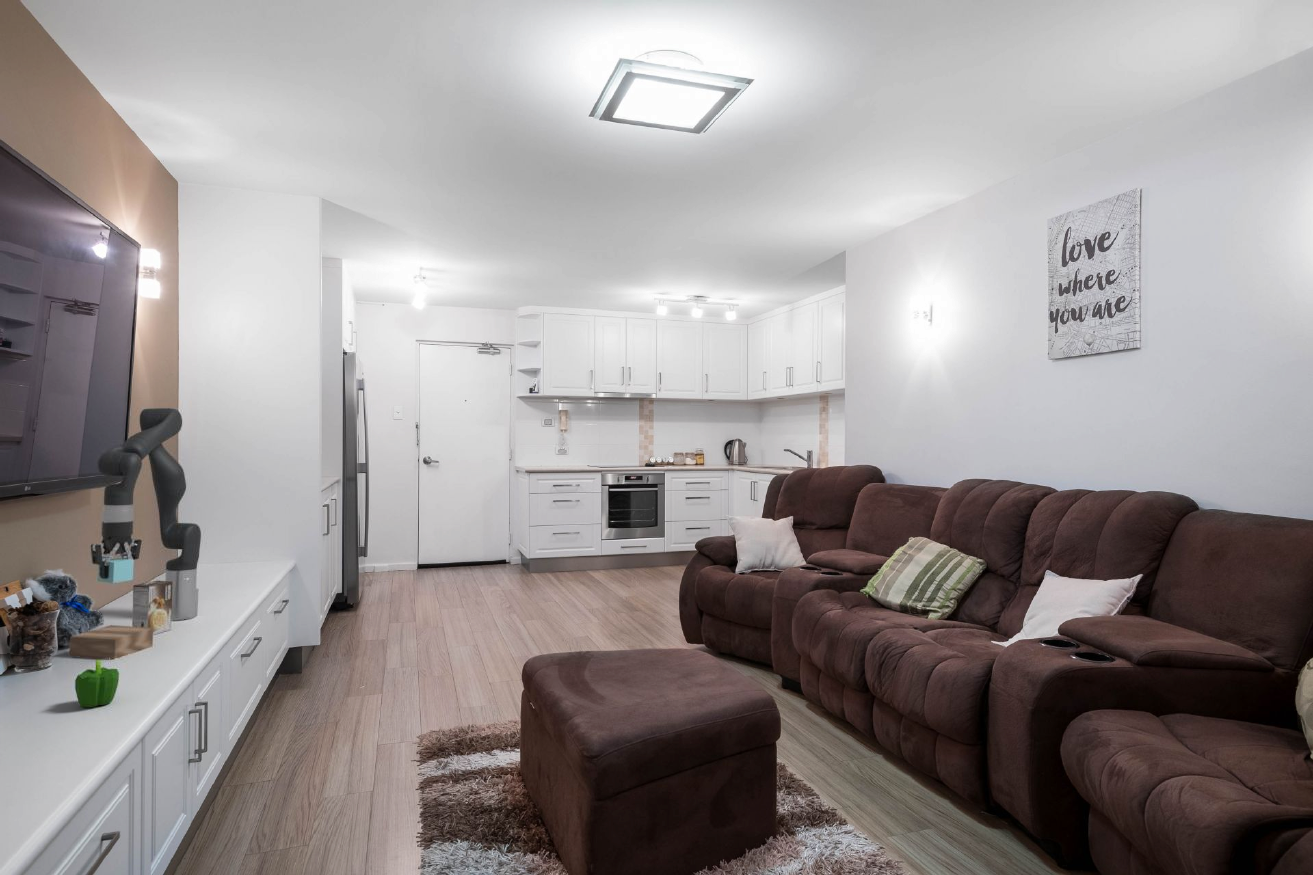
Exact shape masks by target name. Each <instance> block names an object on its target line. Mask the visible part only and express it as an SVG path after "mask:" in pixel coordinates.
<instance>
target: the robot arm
mask: <svg viewBox="0 0 1313 875" xmlns="http://www.w3.org/2000/svg"><path fill="white" fill-rule="evenodd" d="M181 414H182V413H181V412H180V411H179V410H178V409H176V408H170V407H169V408H167V407H164V408H162V407H161V408H160V407H159V408H156V407H155V408H144V409H143V410H141V412H140V414H139V427H140V431H139V432H136V433H135V434H133V435H131V436H130V437H128V438H127V439H126V440H125V441H124V442H123V443H122V444H120V445H117V446H115V447H112V448H111V449H110V448H109V449H108V450H106V451H105V452H104V453H103V452H102V454H101V455H100V457H99V458H98V460H97V465H96V466H97V470H98V472H99V473H101V474H102V475H104V476H106V477H123V479H122V480H121V481H120V482H119V483H114V484H109V485H106V486H105V488H104V491H103V492H104V493H103V508H102V516H101V537H102V540H101V542H99V543H91V545H90V551H91V552H90V553H91V554H90V555H91V563H92V564H93V565H96V566H97V565H99V566H100V571H99V576H100V577H101V578H102V579H107V578H108V575H109V566H108V564H109V562H110V560H111V559H114V556H115V555H119V556H121V557H120V558H122V559H133V560H134V561H135V560H138V559H140V552H141V546H142V541H143V540H142V539H139V538H138V539H137V538H132V536H133V533H134V516H135V515H134V514H135V513H134V492H135V486H136V484H137V480H138V478H139V475H140V473H141V470H142V467H143V462H142V461H143V460H144V459H145V458H146V457H147V456H148V460H149V465H150V471H151V477H152V478H151V479H152V483H153V489H154V493H155V496H156V502H157V508H158V517H159V518H158V519H159V530H160V541H161V543H162V545H163V547H164V548H166V549H168V550H169V549H170V550H181V553H180V556H178V557H176V558H173V559H170V560H168V561H167V562H165V580H164V581H172V582H173V583H172V619H171V621H183V620H184V619H185V620H190V619H193V618H195V617H197V616H198V613H199V612H198V609H199V588H197V572H198V570H197V569H198V562H199V559H200V550H201V549H200V548H201V541H202V540H201V539H202V532H201V527H200V526H199V524H197V523H192V522H191V523H189V522H188V523H187V522H178V520H177V508H178V506H179V504H180V502H181V501H182V499H183V497H184V495H185V493H186V491H187V490H186V489H187V481H186V476H185V471H184V469H183V467H182V466H181V464H180V463H179V462H178V461H177V459H175V457H174V456H172V455H171V454H170V453H169V452H168V450H167V449H166V448H165V446H164V444H163V443H164V442H166V441H167V440H169V439H171V438H173V437H175V436H176V435H177V434H178V433H180V431H181V429H182V425H183V417H182V415H181Z"/></svg>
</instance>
